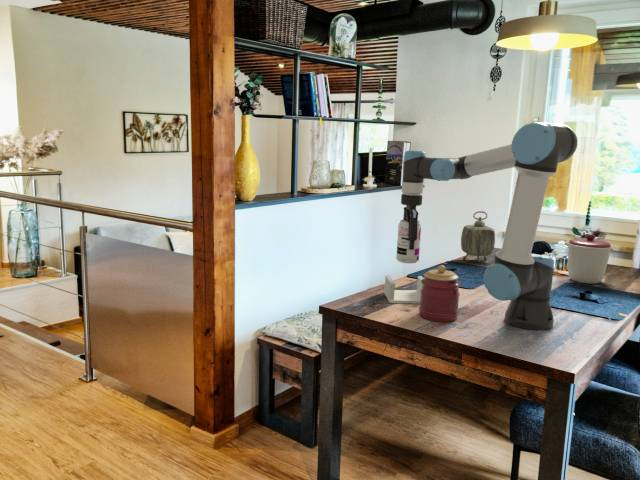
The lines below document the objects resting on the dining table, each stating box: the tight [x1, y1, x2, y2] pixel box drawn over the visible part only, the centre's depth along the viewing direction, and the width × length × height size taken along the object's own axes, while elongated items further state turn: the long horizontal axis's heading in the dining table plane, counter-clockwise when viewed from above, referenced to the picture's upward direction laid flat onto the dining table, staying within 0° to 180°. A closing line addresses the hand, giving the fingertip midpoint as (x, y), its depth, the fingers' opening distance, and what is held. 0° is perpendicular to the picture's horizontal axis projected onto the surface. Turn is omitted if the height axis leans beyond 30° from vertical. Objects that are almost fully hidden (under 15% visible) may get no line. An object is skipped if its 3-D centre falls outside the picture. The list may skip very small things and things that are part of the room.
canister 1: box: [418, 264, 461, 323], centre depth 186 cm, size 13×13×18 cm
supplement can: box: [395, 219, 422, 264], centre depth 204 cm, size 8×8×15 cm
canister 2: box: [566, 232, 614, 285], centre depth 240 cm, size 18×18×21 cm
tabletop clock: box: [460, 210, 496, 264], centre depth 272 cm, size 14×9×25 cm, turn 94°
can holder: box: [383, 274, 425, 305], centre depth 207 cm, size 14×14×7 cm
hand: (407, 255), depth 205 cm, fingers closed on supplement can, 8 cm apart
